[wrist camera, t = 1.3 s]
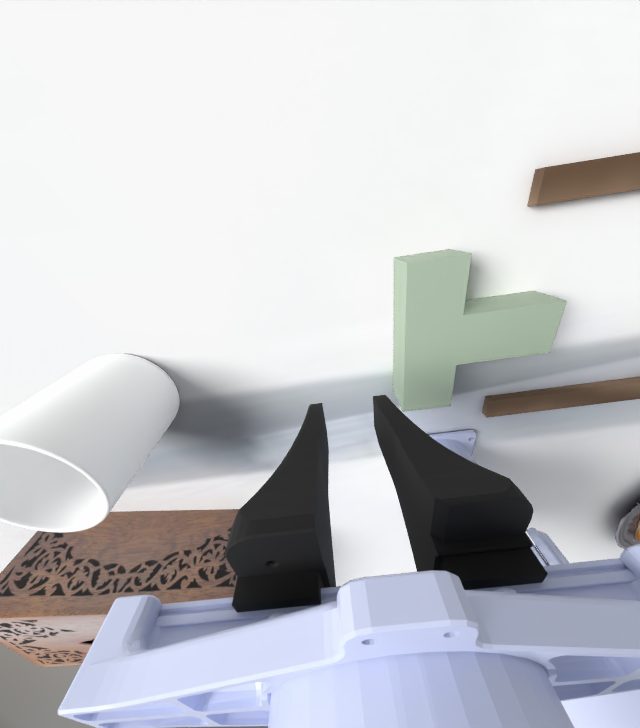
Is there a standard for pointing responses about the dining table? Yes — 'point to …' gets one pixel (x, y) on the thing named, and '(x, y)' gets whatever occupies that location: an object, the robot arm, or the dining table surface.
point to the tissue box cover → (109, 577)
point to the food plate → (629, 529)
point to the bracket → (559, 187)
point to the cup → (82, 442)
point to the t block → (457, 326)
